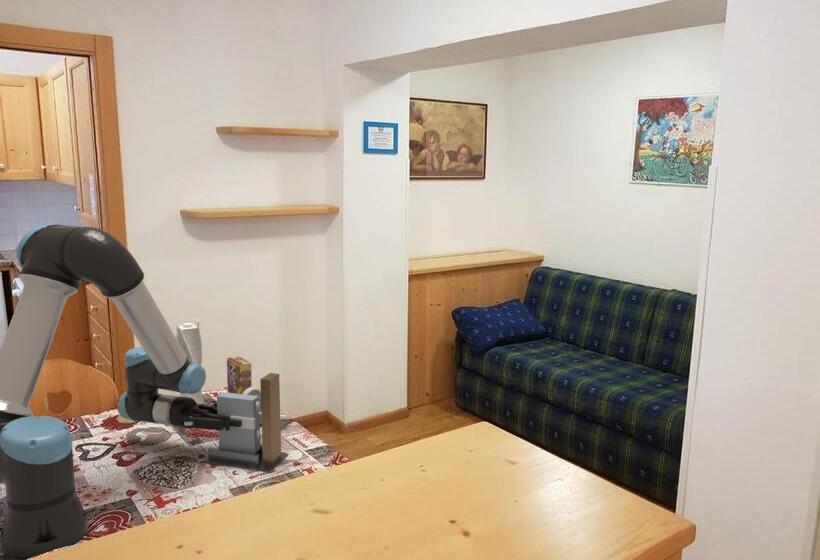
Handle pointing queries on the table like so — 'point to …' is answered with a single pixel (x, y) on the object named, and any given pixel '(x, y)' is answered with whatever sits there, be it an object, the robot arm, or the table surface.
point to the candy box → (238, 375)
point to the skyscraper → (191, 351)
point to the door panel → (238, 436)
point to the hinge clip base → (271, 435)
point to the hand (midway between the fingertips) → (258, 421)
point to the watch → (254, 394)
